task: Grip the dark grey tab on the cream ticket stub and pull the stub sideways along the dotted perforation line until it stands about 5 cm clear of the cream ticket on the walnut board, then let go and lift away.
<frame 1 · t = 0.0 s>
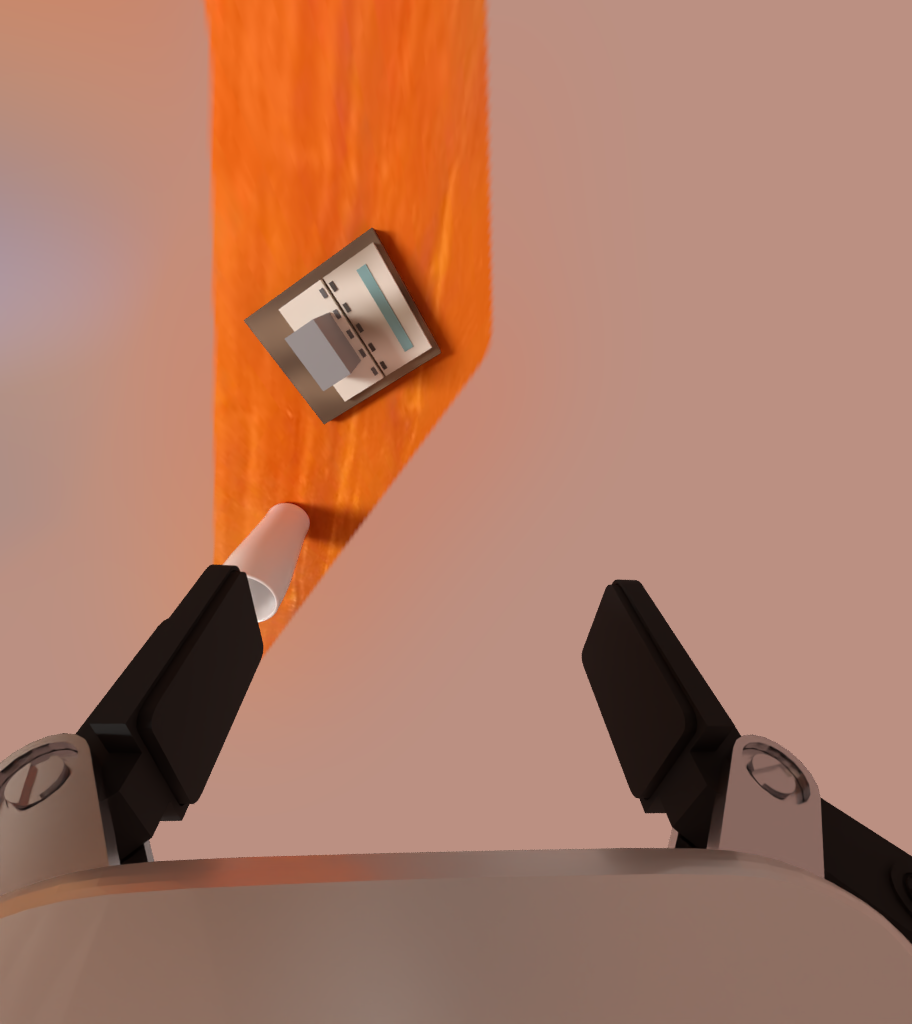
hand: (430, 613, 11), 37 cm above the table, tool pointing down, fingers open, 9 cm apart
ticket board: (348, 334, 41), on the table
stub: (327, 349, 37), point 5 cm above the table, slide at 0.0 cm
drinking glass: (290, 517, 52), on the table
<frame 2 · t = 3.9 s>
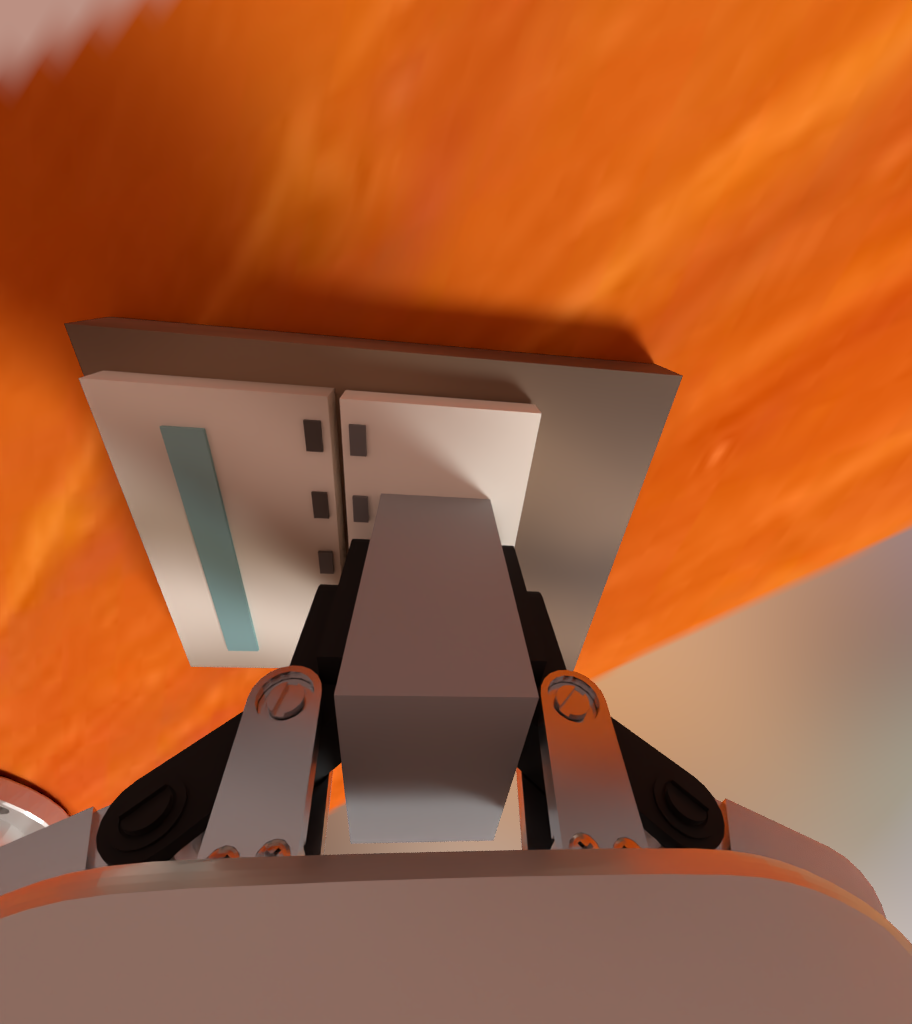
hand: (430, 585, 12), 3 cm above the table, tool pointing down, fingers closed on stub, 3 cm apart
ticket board: (396, 522, 14), on the table
stub: (430, 633, 10), point 5 cm above the table, slide at 0.0 cm, touching gripper
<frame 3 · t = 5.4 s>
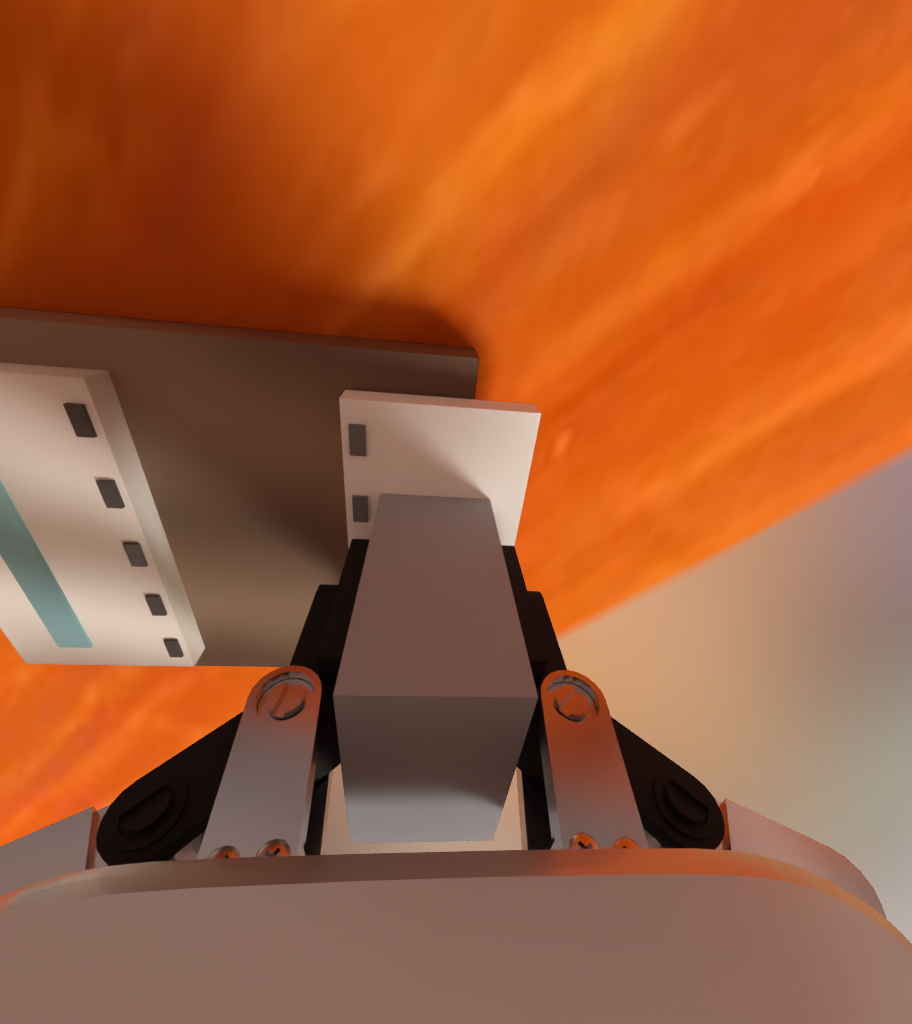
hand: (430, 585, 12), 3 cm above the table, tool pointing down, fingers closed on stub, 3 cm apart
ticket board: (238, 515, 14), on the table
stub: (430, 633, 10), point 5 cm above the table, slide at 5.4 cm, touching gripper
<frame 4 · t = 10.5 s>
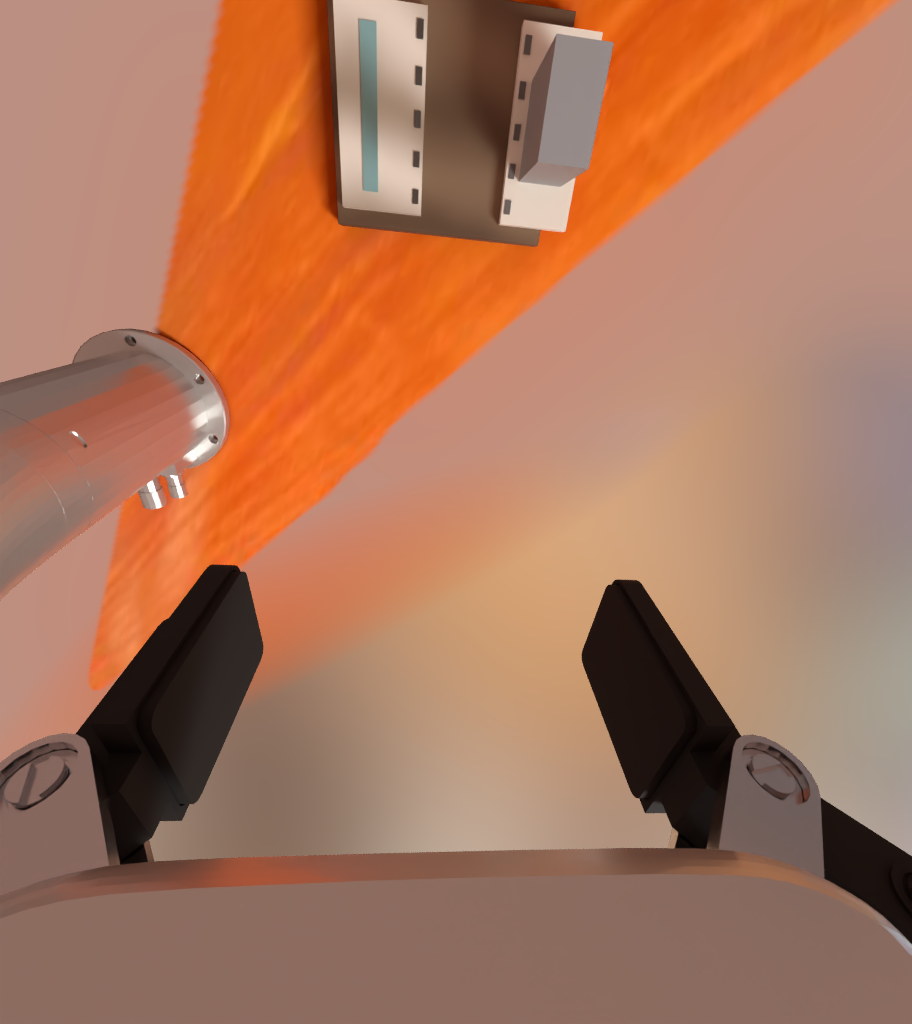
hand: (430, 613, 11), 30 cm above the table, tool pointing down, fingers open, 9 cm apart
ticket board: (445, 133, 28), on the table
stub: (557, 124, 25), point 5 cm above the table, slide at 5.5 cm
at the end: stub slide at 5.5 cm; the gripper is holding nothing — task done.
